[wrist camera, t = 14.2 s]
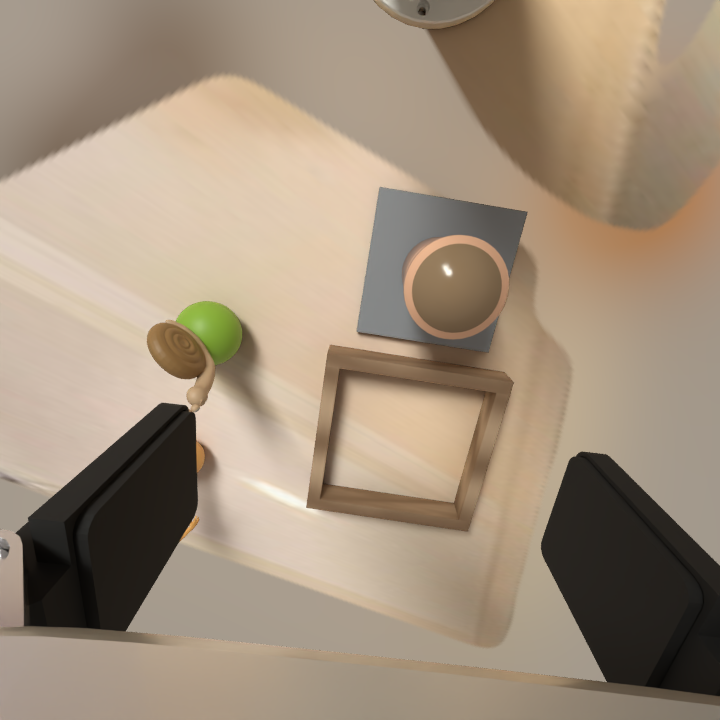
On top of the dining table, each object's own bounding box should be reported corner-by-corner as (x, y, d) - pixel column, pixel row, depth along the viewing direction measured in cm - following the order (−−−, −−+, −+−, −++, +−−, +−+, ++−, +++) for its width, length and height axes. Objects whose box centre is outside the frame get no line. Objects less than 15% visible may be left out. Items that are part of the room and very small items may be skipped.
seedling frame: (330, 344, 36) (327, 353, 34) (504, 372, 37) (513, 382, 34) (309, 491, 42) (306, 507, 39) (462, 514, 42) (467, 531, 40)
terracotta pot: (405, 225, 32) (416, 226, 25) (487, 239, 32) (522, 244, 25) (390, 306, 34) (395, 331, 27) (466, 319, 35) (493, 347, 27)
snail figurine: (226, 372, 38) (164, 437, 26) (178, 319, 36) (89, 364, 25) (269, 340, 36) (223, 393, 25) (221, 283, 35) (149, 313, 24)
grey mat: (379, 187, 32) (379, 187, 31) (524, 212, 32) (527, 211, 32) (356, 329, 36) (356, 331, 35) (486, 350, 36) (488, 352, 36)
